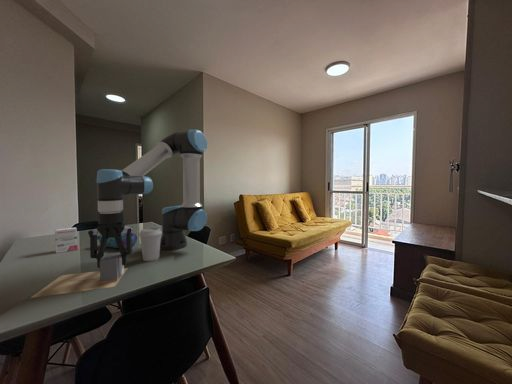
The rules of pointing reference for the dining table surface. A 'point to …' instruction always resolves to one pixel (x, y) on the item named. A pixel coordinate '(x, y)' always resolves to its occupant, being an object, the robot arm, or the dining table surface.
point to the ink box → (66, 239)
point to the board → (75, 284)
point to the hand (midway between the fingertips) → (112, 274)
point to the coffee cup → (150, 243)
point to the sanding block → (109, 268)
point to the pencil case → (112, 242)
